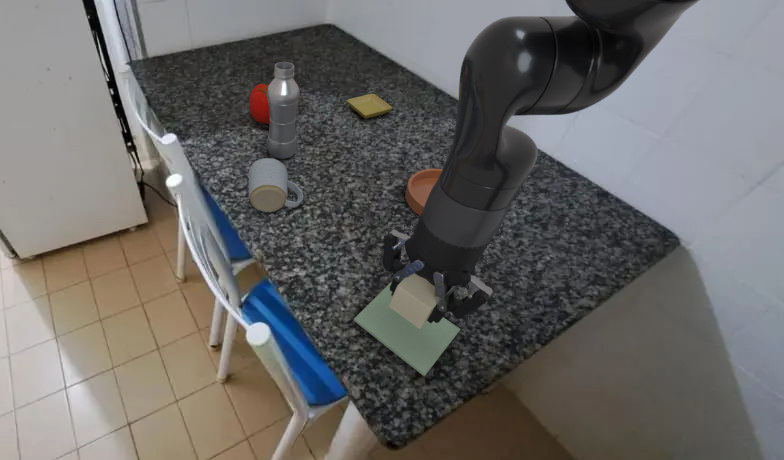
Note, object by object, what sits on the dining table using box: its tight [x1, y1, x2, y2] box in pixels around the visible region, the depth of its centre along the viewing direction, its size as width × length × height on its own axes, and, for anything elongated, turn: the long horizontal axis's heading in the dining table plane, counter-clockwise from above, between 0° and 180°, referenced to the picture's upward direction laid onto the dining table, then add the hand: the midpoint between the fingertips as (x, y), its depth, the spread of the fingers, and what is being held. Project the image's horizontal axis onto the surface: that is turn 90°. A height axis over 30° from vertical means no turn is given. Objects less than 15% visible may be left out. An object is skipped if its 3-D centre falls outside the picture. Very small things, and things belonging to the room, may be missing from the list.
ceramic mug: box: [248, 157, 304, 213], centre depth 74 cm, size 11×8×8 cm
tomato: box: [248, 83, 270, 126], centre depth 95 cm, size 11×11×9 cm
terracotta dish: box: [404, 168, 443, 217], centre depth 77 cm, size 14×14×2 cm
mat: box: [353, 281, 461, 377], centre depth 58 cm, size 12×10×1 cm
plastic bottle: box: [266, 61, 301, 160], centre depth 81 cm, size 6×7×20 cm
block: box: [389, 273, 437, 329], centre depth 53 cm, size 5×5×5 cm
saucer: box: [346, 93, 393, 120], centre depth 101 cm, size 9×9×2 cm
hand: (414, 305), depth 54 cm, fingers closed on block, 5 cm apart
